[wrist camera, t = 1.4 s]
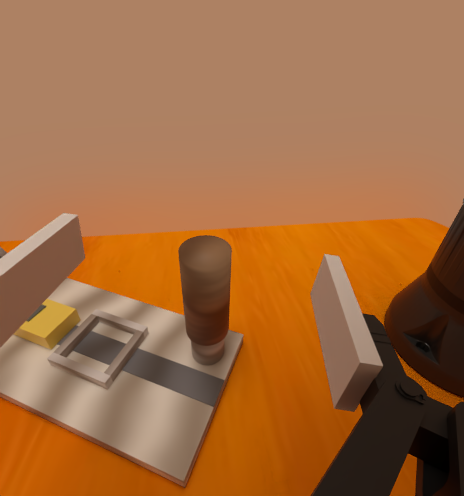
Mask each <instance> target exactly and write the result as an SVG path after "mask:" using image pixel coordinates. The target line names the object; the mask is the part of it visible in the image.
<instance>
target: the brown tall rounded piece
mask: <svg viewBox="0 0 464 496" xmlns="http://www.w3.org/2000/svg"><path fill="white" fill-rule="evenodd" d="M231 252H232V250H231V246H230V245H229V244H228V242H226V241H225V240H223V239H221V238H219V237H215V236H207V235H205V236H196V237H193V238H190V239H188V240H186V241H185V242H183V243H182V244H181V246H180V248H179V263H180V273H181V283H182V294H183V304H184V315H185V325H186V333H187V336H188V337H189V339H190V340H191V349H192V356H193V358H194V360H195V361H196V362H198V363H199V364H202V365H213V364H215V363H217V362H219V361H220V360H221V358H222V357H223V355H224V338H225V337H226V335H227V333H228V330H229V304H230V278H231Z"/></svg>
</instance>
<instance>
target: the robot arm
mask: <svg viewBox="0 0 464 496" xmlns="http://www.w3.org/2000/svg"><path fill="white" fill-rule="evenodd" d="M84 259H85V254H84V248H83V242H82V236H81V231H80V225H79V219H78V215H73V214H66V213H63V214H62V215H60V216H59V217H57V218H56V219H55V220H54V221H52V222H50V223H49V224H48V225H46V226H45V227H44V228H42V229H41V230H39V231H38V232H37V233H35V234H34V235H32V236H31V237H30V238H28V239H27V240H25V241H24V242H23V243H21V244H20V245H18V246H17V247H16V248H14V249H13V250H11V251H10V252H9V253H7V254H6V255H5V256H3V257H1V256H0V348H1V347H2V346H3V345H4V344H5V342H6V341H7V340H8V339H9V338H10V337H11V336H12V335H13V334H14V333H15V332H16V331H17V330H18V329H19V328H20V327H21V326H22V324H23V323H24V322H25V321H26V320H27V319H28V318H29V317H30V316H31V315H32V314H33V313H34V312H35V311H36V310H37V309H38V308H39V306H40V305H41V304H42V303H43V302H44V301H45V300H46V299H47V298H48V297H49V296H50V295H51V294H52V293H53V292H54V291H55V290H56V288H57V287H58V286H59V285H60V284H61V283H62V282H63V281H64V280H65V279H66V278H67V277H68V276H69V275H70V274H71V273H72V272H73V271H74V269H75V268H76V267H77V266H78V265H79V264H80V263H81V262H82V261H83V260H84ZM311 299H312V304H313V309H314V314H315V319H316V323H317V328H318V333H319V338H320V343H321V347H322V352H323V357H324V362H325V367H326V372H327V376H328V381H329V386H330V391H331V396H332V400H333V405H334V408H335V409H341V410H347V411H353V412H354V411H355V410H356V408H357V407H358V405H359V403H360V405H361V408H362V412H363V415H362V416H361V418H360V419H359V421H358V422H357V424H356V425H355V427H354V428H353V430H352V432H351V433H350V435H349V437H348V438H347V440H346V441H345V443H344V444H343V446H342V447H341V449H340V451H339V452H338V454H337V455H336V457H335V458H334V460H333V462H332V463H331V465H330V466H329V468H328V469H327V471H326V472H325V474H324V476H323V477H322V479H321V480H320V482H319V483H318V485H317V487H316V488H315V490H314V491H313V493H312V494H311V496H389V495H390V493H391V491H392V488H393V486H394V484H395V481H396V479H397V477H398V474H399V472H400V470H401V468H402V465H403V463H404V461H405V458H406V456H407V454H408V453H409V454H411V455H413V456H415V457H417V472H416V493H415V496H464V402H460V403H459V404H457V405H456V406H455V407H454V408H452V407H450V406H448V405H445V404H443V403H441V402H438V401H436V400H434V399H432V398H430V397H428V396H427V394H426V392H425V391H424V390H423V388H422V387H421V386H420V385H419V384H418V383H417V382H416V381H414V380H413V379H411V378H409V377H408V376H407V375H406V373H405V371H404V369H403V367H402V365H401V363H400V361H399V358H398V356H397V354H396V352H395V350H394V348H395V349H396V350H397V352H398V353H399V354H400V355H401V356H402V358H403V359H404V360H405V361H406V362H407V363H408V364H409V365H410V366H411V367H413V368H414V369H415V370H416V371H417V372H419V373H420V374H421V375H423V376H424V377H425V378H427V379H428V380H430V381H431V382H433V383H435V384H436V385H438V386H440V387H442V388H444V389H446V390H448V391H450V392H452V393H454V394H457V395H459V396H462V397H464V199H463V205H462V207H461V209H460V210H459V213H458V214H457V216H456V218H455V220H454V222H453V223H452V225H451V227H450V229H449V230H448V232H447V234H446V236H445V238H444V240H443V241H442V243H441V245H440V247H439V249H438V250H437V252H436V254H435V256H434V258H433V260H432V262H431V263H430V265H429V267H428V269H427V270H426V272H425V273H423V274H422V275H421V276H420V277H418V278H417V279H416V280H414V281H413V282H412V283H411V284H409V285H408V286H407V287H406V288H404V289H403V290H402V291H401V292H399V293H398V294H397V295H396V296H395V297H394V298H393V300H392V302H391V304H390V306H389V307H388V309H387V311H386V314H385V328H386V330H385V328H384V326H383V324H382V323H381V322H380V321H379V320H378V319H377V318H376V317H375V316H374V315H368V314H362V312H361V310H360V307H359V305H358V302H357V300H356V297H355V295H354V292H353V290H352V287H351V285H350V282H349V280H348V277H347V275H346V272H345V270H344V267H343V265H342V262H341V260H340V257H339V256H334V255H327V254H324V257H323V260H322V263H321V265H320V268H319V271H318V274H317V277H316V280H315V282H314V285H313V288H312V291H311ZM386 332H387V333H386ZM387 335H388V337H387ZM391 343H392V345H391ZM393 346H394V348H393Z"/></svg>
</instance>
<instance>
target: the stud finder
mask: <svg viewBox="0 0 464 496" xmlns="http://www.w3.org/2000/svg"><path fill="white" fill-rule="evenodd" d="M79 321H80V317H79V315H78V312H77V310H76V309H75V308H72V307H69V306H67V305H64V304H61V303H58V302H55V301H52V300H49V299H46V300H45V301H44V302H43V303H42V304H41V305H40V306H39V308H38V309H37V310H36V311H35V312H34V313H33V314H32V315H31V316H30V317H29V318H28V319H27V320H26V321H25V322H24V323H23V324H22V326H21V327H20V328H19V329H18V330H17V331H16V332H15V333H14V335H16V336H19V337H21V338H24V339H26V340H29V341H31V342H33V343H36V344H38V345H41V346H43V347H46V348H48V349H52V348H53V347H54V346H55V345H56V344H57V343H58V342H59V341H60V340H61V339H62V338H63V337H64V336H65V335H66V334H67V333H68V332H69V331H70V330H71V329H72V328H73V327H74V326H75V325H76V324H77V323H78V322H79Z"/></svg>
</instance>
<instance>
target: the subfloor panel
mask: <svg viewBox="0 0 464 496" xmlns="http://www.w3.org/2000/svg"><path fill="white" fill-rule="evenodd" d="M47 299H49V300H52V301H55V302H58V303H61V304H64V305H67V306H69V307H72V308H75V309H76V310H77V312H78V315H79V317H80V321H79V322H78V323H77V324H76V325H75V326H74V327H73V328H72V329H71V330H70V331H69V332H68V333H67V334H66V335H65V336H64V337H63V338H62V339H61V340H60V341H59V342H58V343H57V344H56V345H55V346H54V347H53V348H52V349H48V348H46V347H43V346H41V345H38V344H36V343H33V342H31V341H29V340H26V339H24V338H21V337H19V336H16V335H14V334H13V335H12V336H11V337H10V338H9V339H8V340H7V341H6V342H5V344H4V345H3V346H2V347H1V348H0V397H2V398H4V399H6V400H8V401H10V402H12V403H14V404H16V405H18V406H20V407H22V408H24V409H26V410H28V411H30V412H32V413H34V414H36V415H38V416H40V417H42V418H44V419H46V420H49V421H51V422H53V423H55V424H57V425H59V426H61V427H63V428H65V429H67V430H69V431H71V432H73V433H75V434H77V435H79V436H81V437H83V438H85V439H87V440H89V441H91V442H93V443H95V444H97V445H99V446H102V447H104V448H106V449H108V450H110V451H112V452H114V453H116V454H118V455H120V456H122V457H124V458H126V459H128V460H130V461H132V462H134V463H136V464H138V465H140V466H142V467H144V468H146V469H148V470H150V471H152V472H154V473H157V474H159V475H161V476H163V477H165V478H167V479H169V480H171V481H173V482H175V483H177V484H179V485H181V486H183V487H185V486H186V483H187V481H188V478H189V476H190V473H191V471H192V468H193V466H194V463H195V461H196V458H197V456H198V453H199V451H200V448H201V446H202V443H203V441H204V438H205V436H206V433H207V431H208V428H209V426H210V423H211V421H212V418H213V416H214V413H215V411H216V408H217V406H218V403H219V401H220V398H221V396H222V393H223V391H224V388H225V386H226V383H227V381H228V378H229V375H230V373H231V370H232V368H233V365H234V363H235V360H236V358H237V355H238V353H239V350H240V348H241V345H242V343H243V334H240V333H237V332H234V331H231V330H228V333H227V335H226V337H225V338H224V355H223V357H222V358H221V360H220V361H219V362H217V363H215V364H213V365H202V364H199V363H198V362H196V361H195V360H194V358H193V356H192V349H191V340H190V339H189V337H188V336H187V333H186V325H185V316H184V315H181V314H178V313H174V312H171V311H168V310H165V309H162V308H159V307H156V306H153V305H149V304H146V303H143V302H140V301H137V300H134V299H131V298H128V297H125V296H121V295H118V294H115V293H112V292H109V291H106V290H103V289H100V288H96V287H93V286H90V285H87V284H84V283H81V282H78V281H75V280H72V279H68V278H66V279H65V280H64V281H63V282H62V283H61V284H60V285H59V286H58V287H57V288H56V290H55V291H54V292H53V293H52V294H51V295H50V296H49V297H48V298H47Z"/></svg>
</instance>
